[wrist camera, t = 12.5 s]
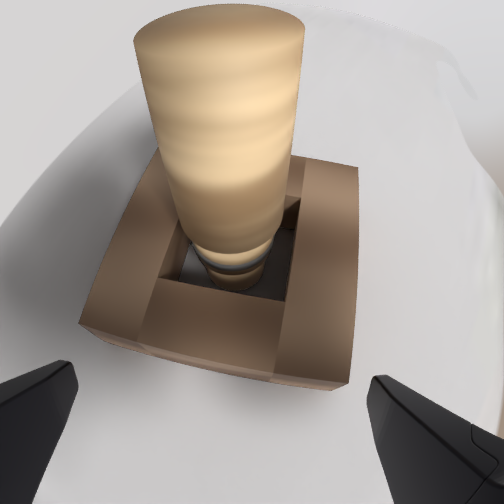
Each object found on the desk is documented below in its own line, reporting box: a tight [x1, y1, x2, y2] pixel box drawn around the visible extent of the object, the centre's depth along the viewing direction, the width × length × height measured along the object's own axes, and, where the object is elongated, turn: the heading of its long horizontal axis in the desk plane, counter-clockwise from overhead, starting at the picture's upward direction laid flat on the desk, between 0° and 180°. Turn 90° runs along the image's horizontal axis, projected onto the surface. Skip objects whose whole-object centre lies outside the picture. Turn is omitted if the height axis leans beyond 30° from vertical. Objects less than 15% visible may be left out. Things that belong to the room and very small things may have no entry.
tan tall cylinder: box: [133, 4, 305, 291], centre depth 12 cm, size 4×4×13 cm
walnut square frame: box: [78, 147, 359, 391], centre depth 17 cm, size 12×12×3 cm
